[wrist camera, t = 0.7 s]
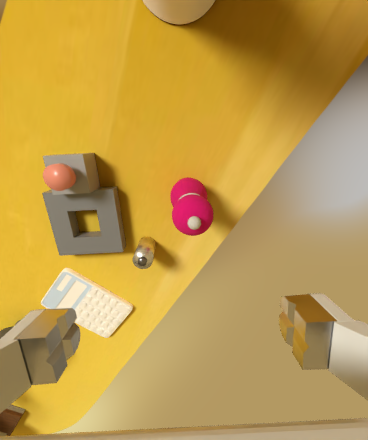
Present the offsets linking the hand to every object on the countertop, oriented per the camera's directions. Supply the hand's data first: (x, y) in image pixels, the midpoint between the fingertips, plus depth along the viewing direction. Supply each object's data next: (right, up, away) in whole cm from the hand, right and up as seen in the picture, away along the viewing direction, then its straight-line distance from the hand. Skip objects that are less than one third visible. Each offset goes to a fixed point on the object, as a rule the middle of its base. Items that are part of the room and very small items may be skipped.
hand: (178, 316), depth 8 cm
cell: (-8, -2, +41) cm, 42 cm away
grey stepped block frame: (-21, +7, +38) cm, 44 cm away
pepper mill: (+1, +10, +37) cm, 39 cm away
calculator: (-25, -18, +47) cm, 56 cm away
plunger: (-21, +11, +29) cm, 37 cm away
